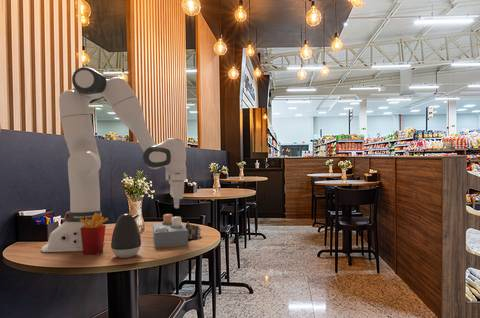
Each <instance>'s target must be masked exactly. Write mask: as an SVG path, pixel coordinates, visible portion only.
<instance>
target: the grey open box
mask: <svg viewBox="0 0 480 318" xmlns="http://www.w3.org/2000/svg"><path fill="white" fill-rule="evenodd" d="M157 227H167V232H157ZM152 237H153V244H154V249H161V248H174V247H186V246H189V239H188V230H187V229H186V225H185V224H184V223H183V222H182V221H181V227H180V228H172V224H170V225H164V222H153V223H152Z"/></svg>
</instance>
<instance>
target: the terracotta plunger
mask: <svg viewBox="0 0 480 318" xmlns="http://www.w3.org/2000/svg"><path fill="white" fill-rule="evenodd" d="M162 217H163V219H162V220H163V223H164V225H170V224H172V217H173V214H172V213H165V214H163V215H162Z"/></svg>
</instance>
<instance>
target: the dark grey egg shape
mask: <svg viewBox="0 0 480 318" xmlns="http://www.w3.org/2000/svg"><path fill="white" fill-rule="evenodd" d="M138 217H139V214H138V213H136V214H134V215H132V214H129V213H123V214H121V215H119V217H118V218H117V220H116V222H115V224H114V227H113V231H112V234H111V235H112V236H111V242H110V244H111V245H110V247H111V250H112V253H113V255H114V256H116V257H117V258H121V259H128V258H132V257H135V256H136V255H137V254H138V253H139V252H140V249H141V246H142V239H141V233H140V229H139V226H138V223H137V221H136V219H137V218H138Z"/></svg>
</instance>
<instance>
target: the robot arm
mask: <svg viewBox="0 0 480 318" xmlns="http://www.w3.org/2000/svg"><path fill="white" fill-rule="evenodd" d="M71 77H72V78H71V83H72V86H73V88H72V89H68V90H64V91H63V92H61V93H60V94H59V96H58V97H59V99H58V104H59V105H58V108H59V116H60V117H59V118H60V120H61V126H62V132H63V136H64V141H65V142H66V147H67V149H68V153H69V157H68V159H67V173H68V184H69V195H70V197H69V198H70V199H69V205H70V207H69V208H70V209H69V211H67V212H66V213H65V214H64V222H63V223H62V224H60V225H59V226H58V227H56V228H55V229H53V231H51V232H50V234H49V236H48V241H47V242H48V243H46V244H44V245H43V246H42V247H41V252H42V253H58V252H59V253H61V252H63V253H65V252H83V246H82V238H81V230H80V228H82V227H84V224H83V223H82V222H81V221H80V219H83V220H84V221H85V218H87V219H88V220H89V219H90V220H92V217H93V215H94V214H95V213H97V214H99V215H102V209H101V193H100V192H101V188H100V172H99V171H100V169H101V164H102V161H101V157H100V152H99V149H98V144H97V140H96V136H95V132H94V126H93V122H92V117H91V116H92V115H91V112H90V107H89V106H90V104H92V103H95V102H97V101H100V100H102V99H103V98H104V99H105V100H107V102H108V104H109V105H110V107H111V108H112V109H111V110H113V113H114V114H115V115H116V117H117V118H118V120H120V122H121V123H122V124H123V125H125V126H126V127H127V128H128V129H129V130H130V131H131V133H132V134H133V135H134V137H135V138H136V140H137V142H138V144H139V146H140V148H141V149H142V152H143V154H142V160H143V162H144V164H145V165H146V166H147V167H148V168H149V169H151V170H160V169H162V168H165V180H166V181H168V184H169V185H170V188H169V189H170V191H169V192H170V196H171V198H173V207H174V209H179V208H180V200H182V199H184V193H185V192H184V191H185V181H186V180H187V165H186V161H187V148H186V143H185V142H184V141H183V140H182V139H179V138H174V137H168V138H166V139H165V140H163V141H162V142H160V143H158V144H157V143H156V142H155V140H154V139H153V136H152V135H151V133H150V131H149V129H148V127H147V125H146V121H145V114H144V111H143V107H142V105H141V102H140V101H139V98H138V96H137V94H135V92H134V90H133V88H131V85H130V84H129V83H128V82H127V81H126V79H124V78H123V77H120V76H114V77H111V78H107V77H106V76H105V75H103V74H102V73H100V72H98V71H97V70H95V69H94V68H91V67H86V66H82V67H78V68H77V69H76V70H74V72H73V73H72V76H71ZM96 222H97V220H96ZM87 223H88V224H89V225H91V223H90V222H89V221H88V222H87ZM95 224H96V223H95Z"/></svg>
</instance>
